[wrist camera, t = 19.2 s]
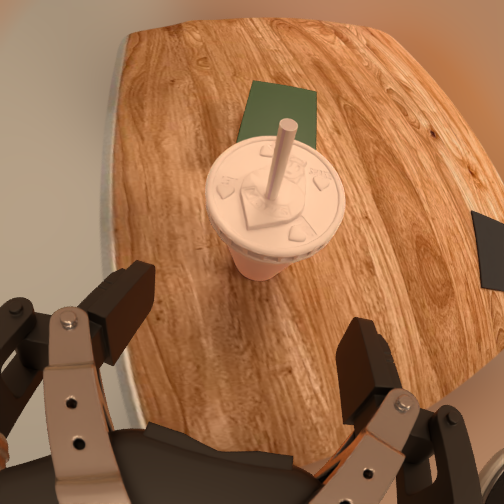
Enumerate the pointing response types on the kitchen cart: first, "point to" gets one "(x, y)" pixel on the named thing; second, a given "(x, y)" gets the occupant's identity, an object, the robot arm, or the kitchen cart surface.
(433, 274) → the kitchen cart surface
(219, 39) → the kitchen cart surface
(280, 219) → the smoothie
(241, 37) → the kitchen cart surface
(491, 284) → the cloth
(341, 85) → the kitchen cart surface
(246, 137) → the scrubber
